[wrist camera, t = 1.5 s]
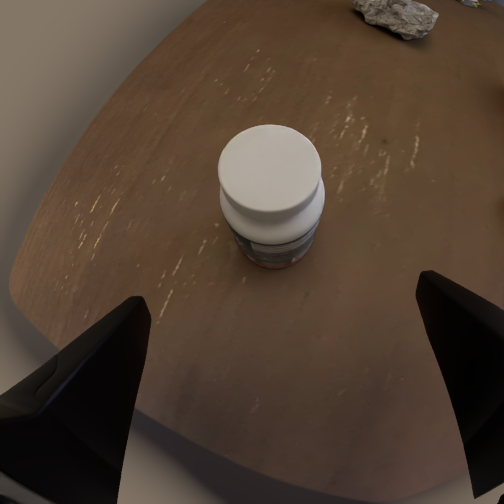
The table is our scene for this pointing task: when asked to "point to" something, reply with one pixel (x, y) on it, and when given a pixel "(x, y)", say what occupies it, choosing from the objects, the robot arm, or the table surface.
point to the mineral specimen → (398, 16)
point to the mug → (472, 2)
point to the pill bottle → (271, 193)
